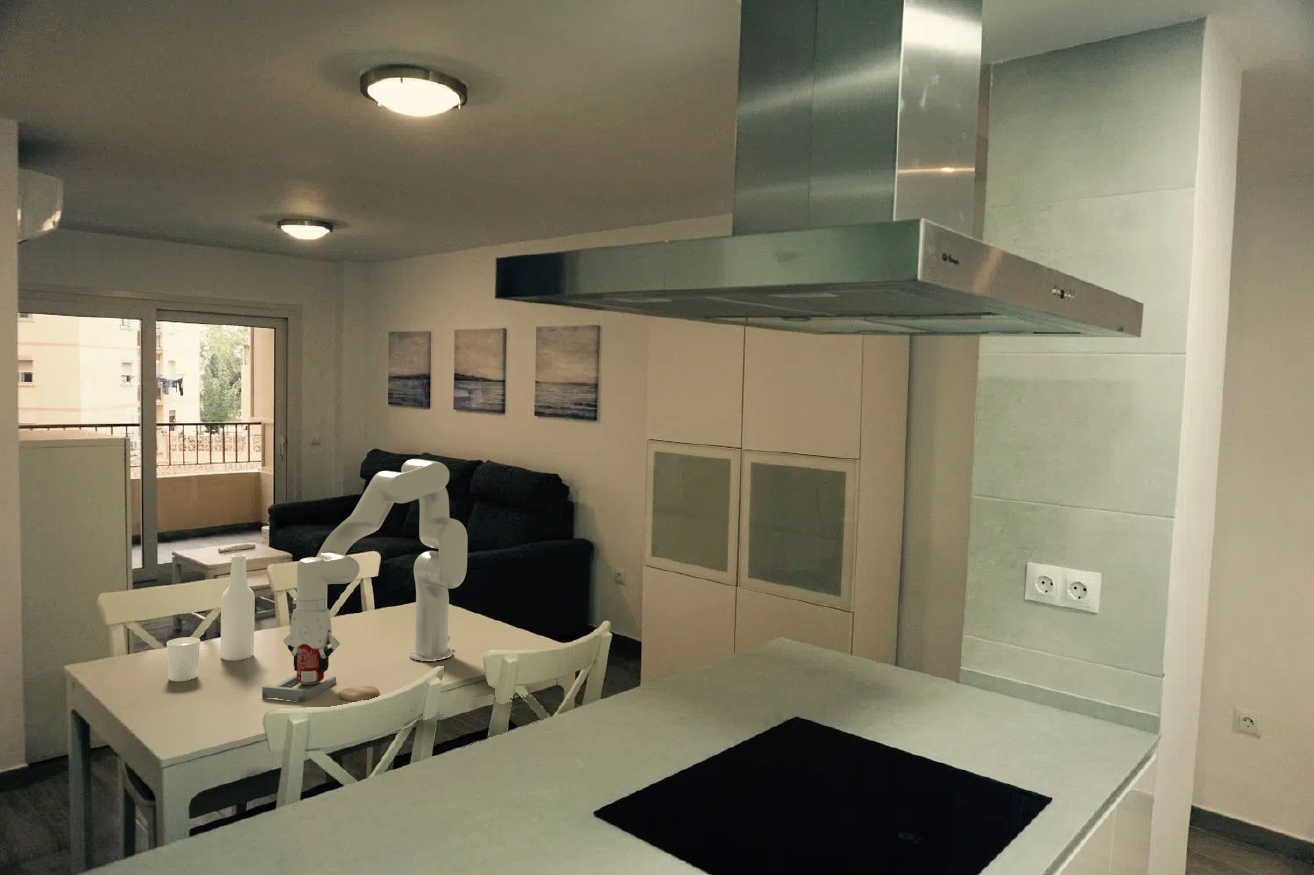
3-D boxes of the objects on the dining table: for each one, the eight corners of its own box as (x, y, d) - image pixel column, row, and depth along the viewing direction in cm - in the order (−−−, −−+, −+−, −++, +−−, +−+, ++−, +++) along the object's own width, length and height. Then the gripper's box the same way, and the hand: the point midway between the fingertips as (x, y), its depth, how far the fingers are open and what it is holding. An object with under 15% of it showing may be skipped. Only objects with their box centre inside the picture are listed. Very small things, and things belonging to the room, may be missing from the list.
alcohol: (213, 659, 249) (214, 556, 247) (235, 651, 257) (237, 551, 256) (238, 662, 246) (240, 559, 245) (260, 654, 255) (262, 554, 253)
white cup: (165, 683, 227) (166, 646, 226) (166, 675, 234) (167, 638, 233) (199, 680, 231) (199, 643, 230) (199, 671, 238) (200, 635, 237)
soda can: (317, 686, 227) (318, 641, 226) (292, 685, 227) (292, 640, 227) (327, 678, 234) (328, 634, 233) (303, 677, 234) (303, 633, 233)
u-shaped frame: (298, 678, 234) (298, 667, 234) (336, 682, 233) (336, 671, 233) (262, 698, 219) (262, 686, 219) (302, 702, 217) (302, 690, 217)
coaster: (350, 686, 230) (350, 684, 230) (385, 689, 228) (385, 687, 228) (330, 699, 220) (330, 696, 220) (367, 702, 218) (367, 700, 218)
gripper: (273, 605, 227) (273, 672, 228) (334, 610, 224) (333, 677, 225) (290, 598, 234) (289, 663, 235) (349, 603, 232) (348, 668, 233)
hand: (311, 669), depth 230 cm, fingers closed on soda can, 6 cm apart
